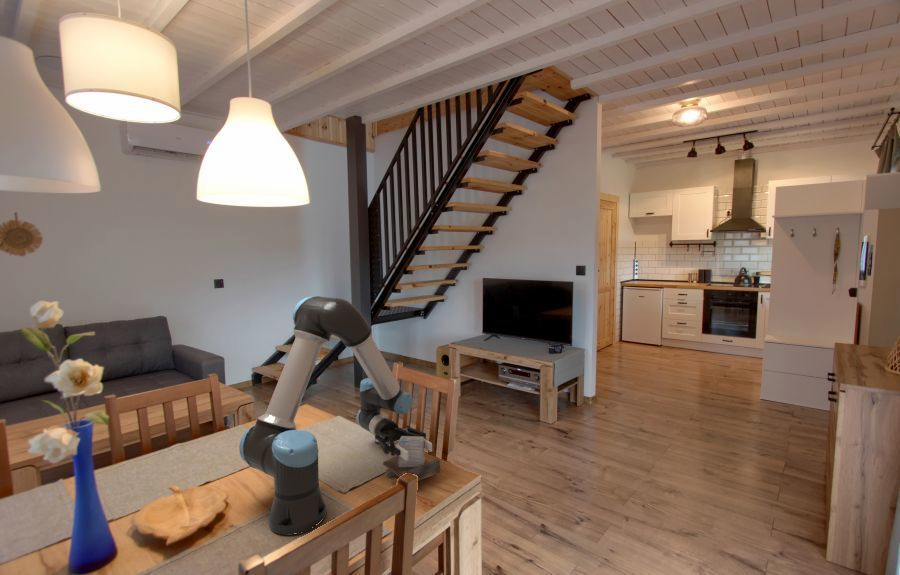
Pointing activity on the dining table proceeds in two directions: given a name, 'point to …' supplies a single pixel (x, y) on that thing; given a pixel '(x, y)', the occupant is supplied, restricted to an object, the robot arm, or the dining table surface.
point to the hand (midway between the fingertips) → (419, 451)
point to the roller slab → (412, 468)
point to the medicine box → (412, 451)
